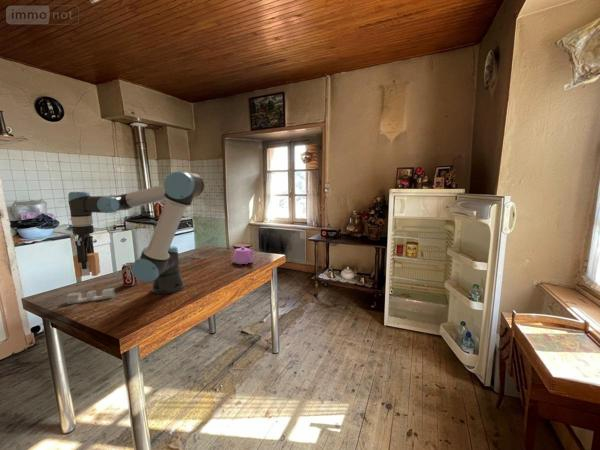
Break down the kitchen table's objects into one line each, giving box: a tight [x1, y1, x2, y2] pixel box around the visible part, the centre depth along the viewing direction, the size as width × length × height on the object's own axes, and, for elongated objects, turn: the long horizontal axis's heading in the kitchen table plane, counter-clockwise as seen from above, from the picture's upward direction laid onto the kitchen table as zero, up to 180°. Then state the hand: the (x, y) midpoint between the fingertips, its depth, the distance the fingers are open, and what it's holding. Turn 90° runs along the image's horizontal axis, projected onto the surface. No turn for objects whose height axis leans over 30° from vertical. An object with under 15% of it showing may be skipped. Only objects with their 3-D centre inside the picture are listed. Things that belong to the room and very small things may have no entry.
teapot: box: [232, 246, 255, 265], centre depth 182 cm, size 20×13×12 cm, turn 55°
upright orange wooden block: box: [72, 252, 101, 279], centre depth 121 cm, size 8×5×10 cm, turn 112°
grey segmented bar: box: [65, 287, 116, 305], centre depth 124 cm, size 18×4×4 cm, turn 112°
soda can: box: [121, 262, 139, 287], centre depth 142 cm, size 7×7×12 cm
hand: (88, 273), depth 122 cm, fingers closed on upright orange wooden block, 5 cm apart
